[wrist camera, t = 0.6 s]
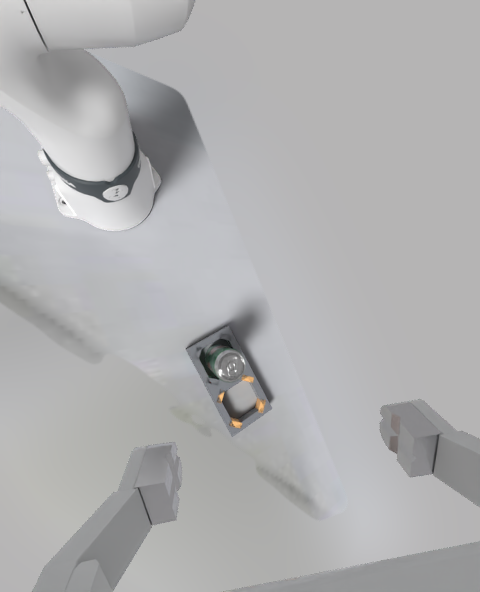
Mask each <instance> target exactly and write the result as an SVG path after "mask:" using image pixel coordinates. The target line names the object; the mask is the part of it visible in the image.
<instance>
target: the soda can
mask: <svg viewBox="0 0 480 592" xmlns="http://www.w3.org/2000/svg"><path fill="white" fill-rule="evenodd" d="M205 363H206V365H207V367H208V368H209V369H210V370H211V371H212V372H213V373H214V374H215V375H216V376H217V377H218V378H219V379H220V380H221V381H224V382H228V383H231V382H235V381H237V380H238V379H240V378H241V377H242V375H243V374H244V372H245V368H246V362H245V359H244V356H243V355H242V354H241V353H240V352H239V351H237V350H235V349H232V348H229V347H226V346H223V345H214V346H212V347H210V348H209V349H208V350H207V352H206V354H205Z"/></svg>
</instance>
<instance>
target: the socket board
mask: <svg viewBox="0 0 480 592" xmlns="http://www.w3.org/2000/svg"><path fill="white" fill-rule="evenodd" d="M220 338H221V339H225V340H227V341H228V343H229V345H230V347H231V348H232V349H235V350H237V351H239V352H240V353H241V354H242V355H243V356H244V354H243V352H242V350H241V348H240V346H239V344H238V342H237V340H236V338H235V336H234V335H233V333H232V331H231V329H230V327H229V326H226V327H224V328H222V329H220V330H219V331H217V332H215V333H213V334H211V335H210V336H208V337H206V338H204V339H202V340H201V341H199V342H197V343H195V344H194V345H192V346H190V347H188V348H186V351H187V352H188V354H189V356H190V358H191V360H192V362H193V364H194V366H195V368H196V369H197V371H198V373H199V375H200V377H201V379H202V381H203V383H204V385H205V386H206V388H207V390H208V392H209V394H210V396H211V398H212V400H213V402H214V403H215V405H216V407H217V409H218V411H219V413H220V415H221V417H222V419H223V421H224V422H225V424H226V426H227V428H228V430H229V432H230V434H231V435H232V437H233V436H234V435H236V434H237V433H239V432H240V431H241V430H243V429H244V428H246V427H247V426H248V425H250V424H251V423H253V422H254V421H256V420H257V419H258V418H260V417H261V416H263V415H264V414H265V413H267V412H268V411H270V410H271V409H272V407H271V405H270V403H269V401H268V399H267V397H266V396H265V394H264V392H263V390H262V388H261V386H260V384H259V382H258V380H257V378H256V376H255V375H254V373H253V371H252V369H251V367H250V365H249V363H248V361H247V359H246V357H245V356H244V359H245V362H246V368H245V372H244V374H243V375H242V377H241V378H240V379H238V380H237V381H235V382H231V383H228V382H224V381H221V380H220V379H219V378H218V377H217V378H215V377H211V376H208V375H207V373H206V371H205V369H204V367H203V365H202V363H201V362H200V360H199V356H200V353H201V350H202V348H204V347H206V346H208V345H209V344H211V343H213V342H215V341H216V340H218V339H220ZM242 380H244V381H248V382H249V383H250V385H251V386H252V388H253V390H254V392H255V394H256V396H257V402H256V406H255V408H253V409H252V410H251V411H249V412H248V413H246V414H245V415H243V416H242V417H240V418H239V419H236V418H231V417H230V416H229V414H228V413H227V411H226V409H225V407H224V405H223V403H222V399H223V396H224V392H225V391H227V390H228V389H230V388H231V387H233V386H234V385H236V384H238V383H239V382H241V381H242Z"/></svg>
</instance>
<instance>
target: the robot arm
mask: <svg viewBox="0 0 480 592" xmlns="http://www.w3.org/2000/svg"><path fill="white" fill-rule="evenodd" d="M194 2H195V0H0V106H1V107H2V108H4V109H5V110H7V111H8V112H10V113H11V114H12V115H14V116H15V117H16V118H17V119H19V120H20V121H21V122H22V123H23V125H24V126H25V127H26V128H27V129H28V130H29V131H30V133H31V134H32V135H33V136H34V137H35V139H36V140H37V141H38V142H39V144H40V145H41V148H42V150H38V151H37V153H38V156H39V158H40V160H41V162H42V164H43V165H44V166H47V169H48V171H47V175H48V177H49V179H50V180H51V184H52V187H53V191H54V194H55V198H56V202H57V205H58V209H59V211H60V212H61V214H62V215H64V216H66V217H70V218H75V219H81V220H83V221H85V222H87V223H88V224H90V225H92V226H94V227H97V228H99V229H103V230H108V231H122V230H127V229H130V228H132V227H135V226H137V225H138V224H140V223H141V222H142V221H143V220H144V219H145V218H146V217H147V216H148V214H149V213H150V211H151V209H152V206H153V200H154V194H155V192H156V191H157V189H158V188H159V186H160V184H161V178H160V176H159V174H158V173H157V172H156V170H155V169H154V168H153V166H152V165H151V164H150V161H149V159H148V157H145V155H144V154H143V153H142V151H141V150H140V149H139V145H138V142H137V139H136V137H135V134H134V132H133V131H132V128H131V123H130V118H129V113H128V108H127V103H126V99H125V96H124V93H123V91H122V89H121V87H120V85H119V84H118V82H117V81H116V79H115V78H114V77H113V76H112V74H111V73H110V72H109V71H108V70H107V69H106V68H105V66H104V65H103V64H102V63H101V62H100V61H98V60H97V59H96V58H95V57H94V56H93V55H91V54H90V53H89V52H87V51H86V50H84V49H94V48H116V47H134V46H137V45H141V44H144V43H147V42H151V41H154V40H157V39H160V38H163V37H165V36H168V35H171V34H173V33H176V32H179V31H181V30H182V29H183V28H184V26H185V24H186V22H187V20H188V19H189V16H190V14H191V11H192V9H193V6H194ZM64 202H65V203H66V204H63V203H64ZM380 414H381V415H382V417H383V419H382V421H381V422H380V433H381V436H382V439H383V440H384V442H385V444H386V446H387V447H388V448H389V450H391V451H393V452H395V453H396V454H397V461H398V462H399V464H400V465H401V466H402V468H403V469H404V470H405V472H406V473H407V474H408V476H409V477H416V476H423V475H429V474H433V475H434V476H435V477H437V478H438V479H439V480H441V481H442V482H444V483H445V484H447V485H448V486H449V487H451V488H453V489H454V490H455V491H457V492H459V493H460V494H461V495H463V496H464V497H465V498H467V499H468V500H470V501H471V502H473V503H474V504H476V505H477V506H479V507H480V439H479V438H477V437H475V436H472V435H470V434H468V433H465V432H463V431H457V430H456V429H454V428H453V427H452V426H451V425H450V424H449V423H448V422H447V421H446V420H444V419H443V418H442V417H441V416H440V415H439V414H438V413H437V412H435V411H434V410H433V409H432V408H431V407H430V406H429V405H428V404H427V403H426V402H425V401H423V400H421V399H418V400H412V401H407V402H401V403H395V404H390V405H384V406H382V407H381V411H380ZM181 481H182V466H181V460H180V457H178V456H177V446H176V443H175V442H169V443H162V444H155V445H148V446H143V447H136V448H134V449H133V451H132V453H131V455H130V458H129V461H128V463H127V466H126V469H125V472H124V474H123V477H122V480H121V483H120V486H119V488H118V491H117V492H113V493H112V494H111V495H110V496H109V497H108V499H107V500H106V501H105V502H104V503H103V504H102V505H101V506H100V507H99V508H98V509H97V510H96V511H95V513H94V514H93V515H92V516H91V517H90V518H89V519H88V520H87V521H86V522H85V523H84V524H83V526H82V527H81V528H80V529H79V530H78V531H77V532H76V533H75V534H74V535H73V536H72V538H71V539H70V540H69V541H68V542H67V543H66V544H65V545H64V546H63V547H62V548H61V549H60V551H59V552H58V553H57V554H56V555H55V556H54V557H53V558H52V559H51V560H50V561H49V562H48V564H47V565H46V566H45V567H44V568H43V570H42V572H41V574H40V576H39V578H38V581H37V583H36V585H35V587H34V589H33V591H32V592H113V590H114V589H115V587H116V585H117V583H118V582H119V580H120V579H121V577H122V575H123V574H124V572H125V571H126V569H127V567H128V566H129V564H130V562H131V561H132V559H133V557H134V556H135V554H136V552H137V551H138V549H139V547H140V546H141V544H142V543H143V541H144V539H145V538H146V536H147V534H148V533H149V531H150V529H151V528H152V526H151V525H156V524H160V523H165V522H170V521H175V520H176V518H177V512H178V504H179V497H178V493H177V491H178V490H179V488H180V487H181ZM223 592H480V541H479V542H474V543H470V544H464V545H459V546H454V547H449V548H443V549H438V550H433V551H428V552H423V553H418V554H413V555H407V556H403V557H397V558H393V559H387V560H382V561H377V562H371V563H367V564H361V565H356V566H351V567H346V568H341V569H336V570H330V571H325V572H320V573H316V574H310V575H305V576H300V577H295V578H290V579H285V580H279V581H274V582H269V583H264V584H259V585H255V586H250V587H244V588H239V589H234V590H229V591H223Z"/></svg>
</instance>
